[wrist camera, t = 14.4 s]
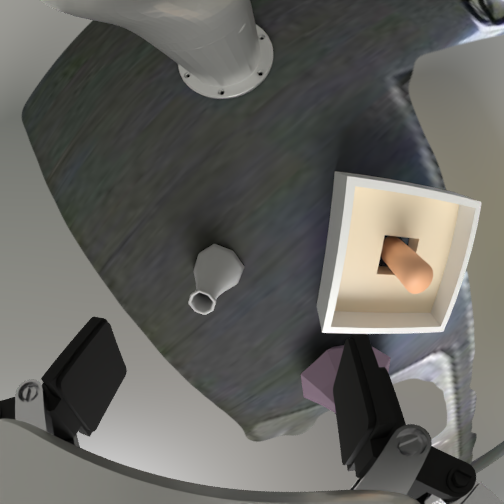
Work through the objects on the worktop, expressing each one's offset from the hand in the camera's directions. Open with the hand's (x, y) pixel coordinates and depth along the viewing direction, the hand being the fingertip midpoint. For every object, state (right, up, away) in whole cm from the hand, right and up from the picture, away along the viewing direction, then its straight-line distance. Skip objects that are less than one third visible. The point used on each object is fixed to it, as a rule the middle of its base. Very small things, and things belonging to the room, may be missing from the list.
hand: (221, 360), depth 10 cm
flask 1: (-4, +2, +31) cm, 31 cm away
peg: (+21, +5, +27) cm, 35 cm away
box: (+21, +5, +27) cm, 35 cm away
